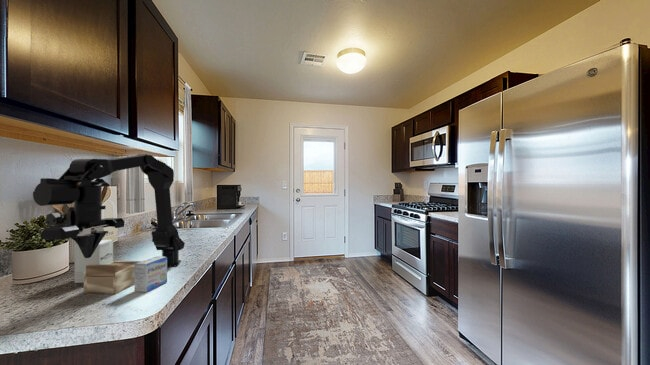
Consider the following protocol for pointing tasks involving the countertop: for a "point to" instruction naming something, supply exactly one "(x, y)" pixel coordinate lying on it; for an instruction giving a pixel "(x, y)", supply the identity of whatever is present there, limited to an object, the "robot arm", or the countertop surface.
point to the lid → (106, 269)
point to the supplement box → (93, 258)
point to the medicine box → (150, 273)
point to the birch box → (110, 281)
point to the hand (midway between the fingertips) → (87, 257)
